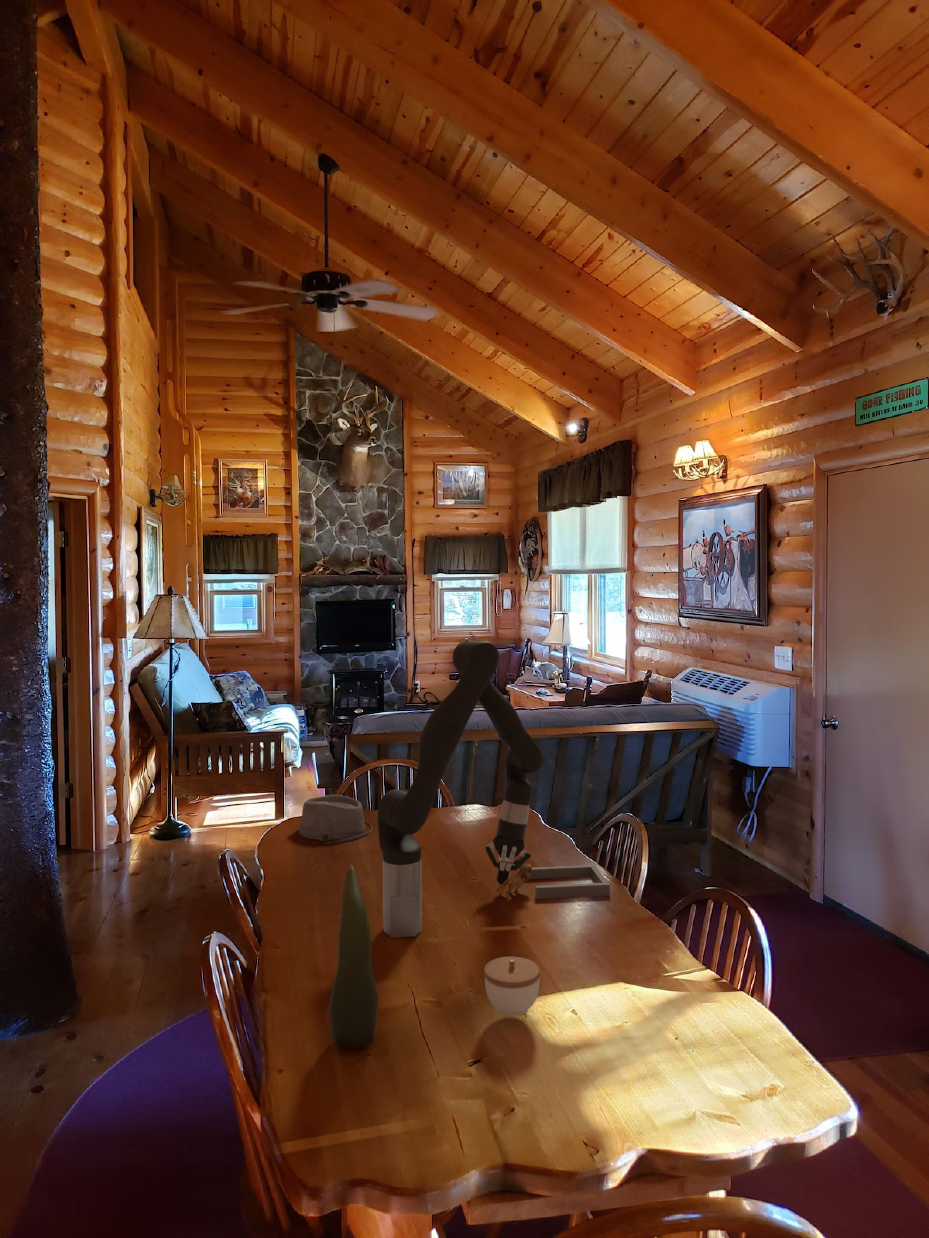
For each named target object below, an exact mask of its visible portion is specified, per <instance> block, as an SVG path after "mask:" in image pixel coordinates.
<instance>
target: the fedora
mask: <svg viewBox="0 0 929 1238" xmlns="http://www.w3.org/2000/svg"><path fill="white" fill-rule="evenodd" d="M363 810H364V809H363V805H362V803H361V802H360V801H359V800H357V799H354V798H353V797H350V796H346V795H341V794H327V795H326V794H325V795H323V796H317V797H312V798H308V799H307V800H305V802H304V803H303V805H302V810H301V811H302V813H301V819H300V820H301V821H300V824H299V828H298V833H299V835H300V836H301V837H304V838H307V839H312V840H319V841H327V842H326V844H335V843H344V842H349V841H353V840H354V841H355V840H358V839H360V838H363V837H365V836H367V835H370V833H372V831H373V826H372V825H371V823H370V822H367V821H365V818H364V813H363ZM366 825H367V826H369V828H370V830H368V831H366ZM310 843H314V844H316V842H311V841H310Z"/></svg>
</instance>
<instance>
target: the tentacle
mask: <svg viewBox="0 0 929 1238" xmlns="http://www.w3.org/2000/svg"><path fill="white" fill-rule="evenodd" d="M337 930H338V931H337V942H336V946H337V947H336V954H337V960H338V961H337V962H338V963H337V967H336V971H335V976H334V979H333V985H332V988H331V994H330V999H329V1004H328V1008H327V1013H328V1015H329V1018H330V1019H329V1030H330V1034H331V1038H332V1040H333V1042H334V1044H335V1045H336V1047H337V1048H357V1047H361V1046H364V1045H367V1044H370V1043H374V1040H375V1032H376V1031H375V1030H376V1025H377V1016H378V1005H379V996H378V995H379V994H378V990H377V985H376V981H375V976H374V972H373V967H372V934H371V926H370V921H369V915H368V908H367V904H366V901H365V900H364V897H363V894H362V890H361V885H360V882H359V877H358V873H357V871H356V869H355V868H354V867H353V865H352V864H350V866H349V867H348V870H347V872H346V876H345V882H344V888H343V891H342V897H341V903H340V910H339V921H338V929H337Z"/></svg>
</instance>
